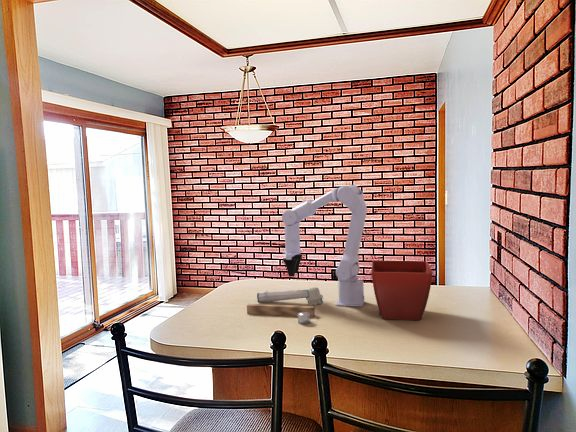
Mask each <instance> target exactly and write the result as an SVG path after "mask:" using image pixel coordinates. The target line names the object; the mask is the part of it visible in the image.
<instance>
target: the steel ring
mask: <svg viewBox="0 0 576 432" xmlns="http://www.w3.org/2000/svg"><path fill="white" fill-rule="evenodd" d="M297 323H298V324H300V325H309V324H311V316H310V313H308V312H300V313H298V316H297Z"/></svg>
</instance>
